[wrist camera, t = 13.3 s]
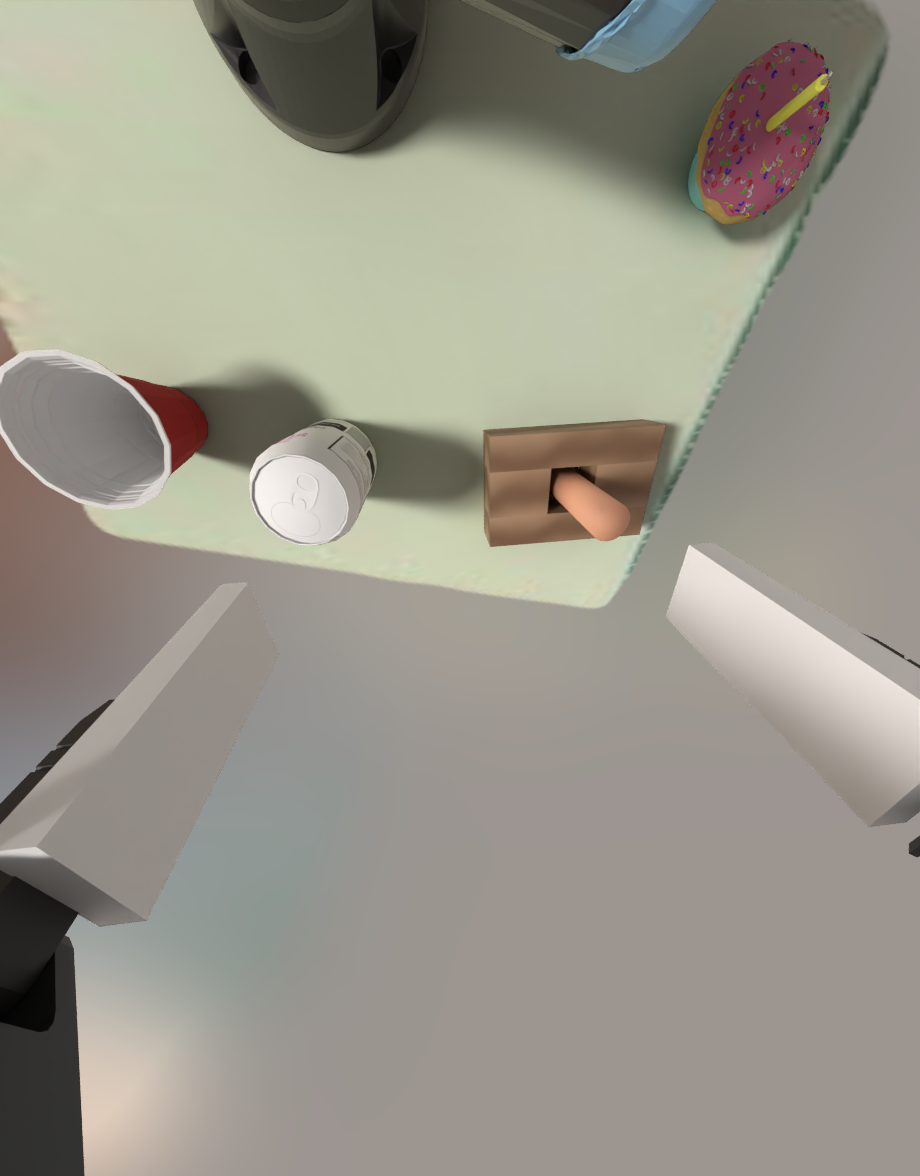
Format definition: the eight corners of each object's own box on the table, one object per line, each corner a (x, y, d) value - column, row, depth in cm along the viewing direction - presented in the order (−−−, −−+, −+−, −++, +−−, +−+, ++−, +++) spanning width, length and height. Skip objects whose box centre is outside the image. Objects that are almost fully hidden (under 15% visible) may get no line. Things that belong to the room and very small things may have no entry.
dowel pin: (545, 465, 42) (593, 504, 30) (574, 463, 42) (634, 501, 30) (542, 494, 43) (587, 542, 32) (570, 492, 44) (625, 539, 32)
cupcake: (658, 245, 32) (766, 190, 22) (676, 97, 28) (824, -59, 17) (751, 231, 32) (903, 168, 22) (785, 81, 28) (996, -85, 17)
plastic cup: (248, 395, 35) (178, 407, 25) (224, 490, 40) (156, 532, 30) (120, 326, 32) (-22, 307, 22) (108, 438, 36) (-13, 467, 26)
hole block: (483, 429, 39) (490, 436, 35) (642, 419, 40) (665, 425, 36) (484, 531, 45) (490, 546, 42) (621, 520, 46) (639, 534, 42)
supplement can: (363, 506, 42) (338, 566, 30) (292, 476, 40) (231, 527, 27) (388, 441, 39) (372, 477, 26) (311, 403, 36) (252, 423, 23)
